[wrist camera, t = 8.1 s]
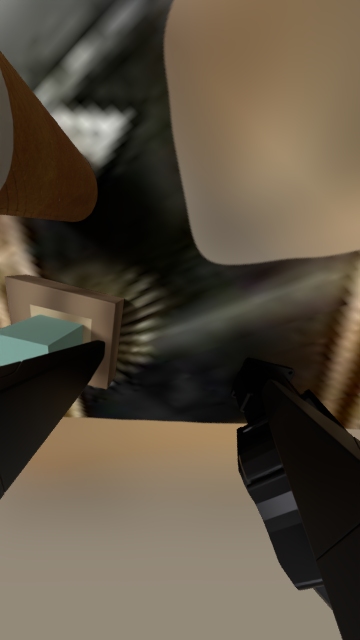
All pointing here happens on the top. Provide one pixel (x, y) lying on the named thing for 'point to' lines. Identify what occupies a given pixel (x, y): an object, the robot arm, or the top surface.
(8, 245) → the top surface
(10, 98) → the disposable coffee cup
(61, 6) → the top surface
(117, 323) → the walnut base
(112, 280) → the top surface
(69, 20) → the top surface
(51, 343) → the teal cube
